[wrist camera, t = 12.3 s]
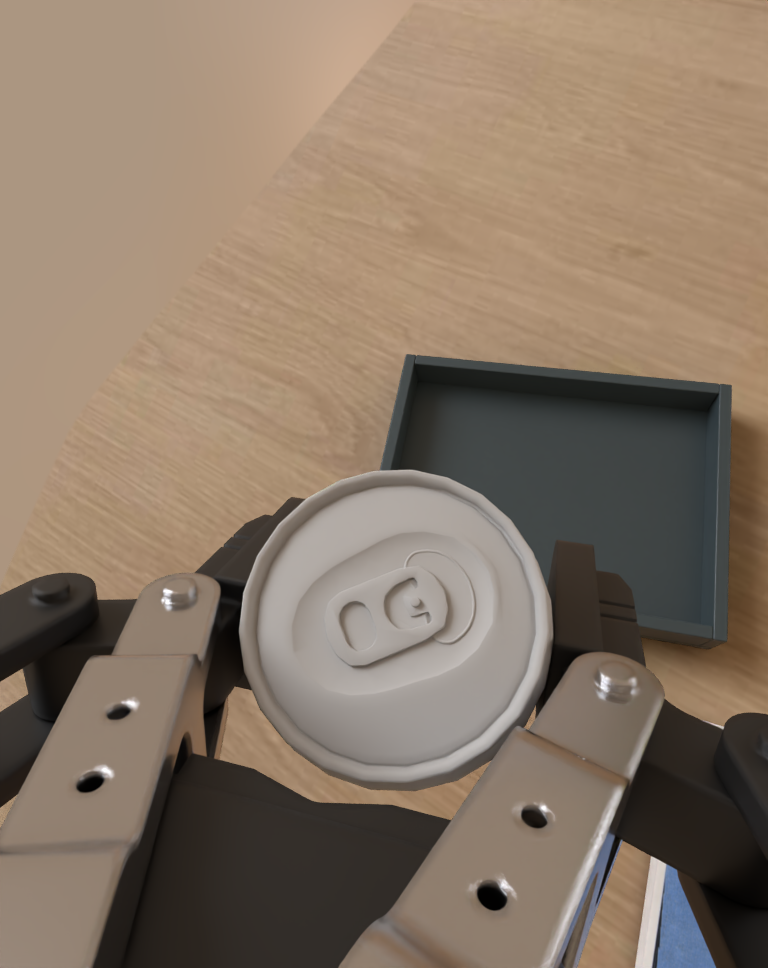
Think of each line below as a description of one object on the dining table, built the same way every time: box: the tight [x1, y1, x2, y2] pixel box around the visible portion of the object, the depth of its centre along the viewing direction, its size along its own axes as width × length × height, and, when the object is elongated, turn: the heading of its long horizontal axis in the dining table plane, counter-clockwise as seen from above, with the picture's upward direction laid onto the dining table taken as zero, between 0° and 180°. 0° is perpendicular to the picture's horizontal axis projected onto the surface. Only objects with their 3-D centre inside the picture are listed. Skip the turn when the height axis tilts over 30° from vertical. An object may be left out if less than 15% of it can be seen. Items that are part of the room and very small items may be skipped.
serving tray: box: [380, 354, 732, 649], centre depth 33 cm, size 17×13×2 cm
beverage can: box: [239, 470, 554, 791], centre depth 15 cm, size 5×5×12 cm
